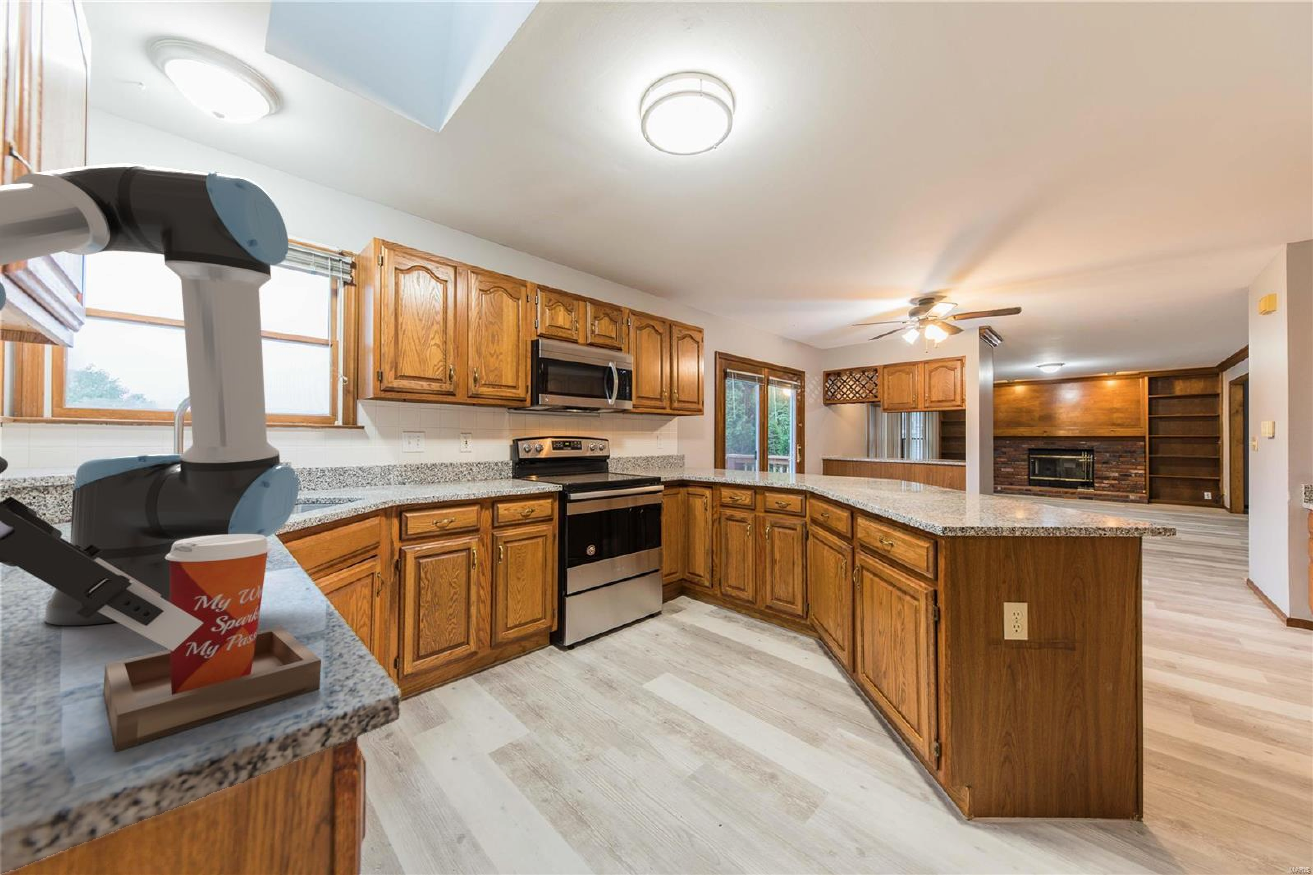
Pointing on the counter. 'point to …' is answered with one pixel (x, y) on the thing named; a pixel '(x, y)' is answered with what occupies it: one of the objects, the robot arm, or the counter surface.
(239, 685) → the walnut tray
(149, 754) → the counter surface
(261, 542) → the coffee cup
